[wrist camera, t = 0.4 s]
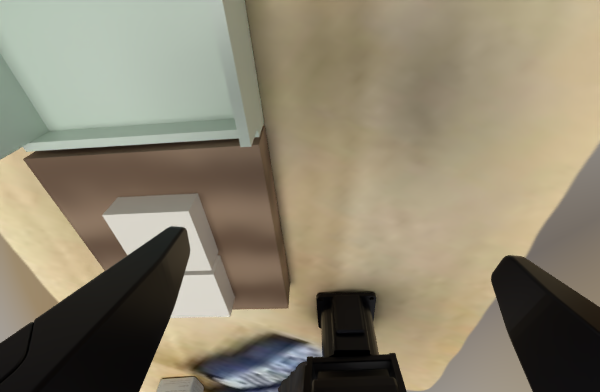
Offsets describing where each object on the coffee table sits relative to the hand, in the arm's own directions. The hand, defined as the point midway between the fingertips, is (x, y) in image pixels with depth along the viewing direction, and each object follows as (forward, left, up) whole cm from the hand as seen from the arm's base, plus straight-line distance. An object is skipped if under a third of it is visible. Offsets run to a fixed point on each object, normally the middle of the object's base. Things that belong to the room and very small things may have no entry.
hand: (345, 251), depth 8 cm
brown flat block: (-11, +12, -14) cm, 22 cm away
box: (+3, +12, -14) cm, 19 cm away
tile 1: (-8, +12, -11) cm, 18 cm away
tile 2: (-15, +12, -11) cm, 22 cm away
